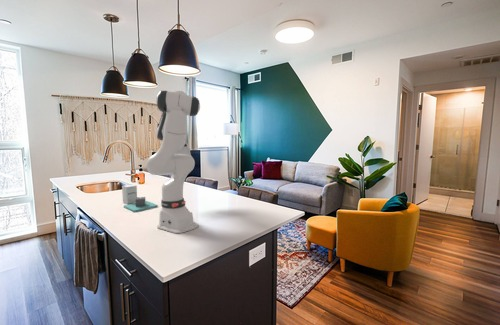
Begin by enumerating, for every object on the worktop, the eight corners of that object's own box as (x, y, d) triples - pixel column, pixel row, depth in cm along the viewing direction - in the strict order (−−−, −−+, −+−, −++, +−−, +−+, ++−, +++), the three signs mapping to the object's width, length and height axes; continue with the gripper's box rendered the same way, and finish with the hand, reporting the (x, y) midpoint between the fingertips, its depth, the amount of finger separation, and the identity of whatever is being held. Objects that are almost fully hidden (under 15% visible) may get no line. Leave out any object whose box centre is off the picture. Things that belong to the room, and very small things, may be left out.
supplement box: (127, 204, 166) (126, 187, 165) (122, 202, 171) (121, 185, 170) (137, 202, 172) (136, 185, 171) (132, 200, 177) (131, 184, 175)
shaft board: (157, 206, 162) (157, 200, 161) (134, 212, 150) (133, 205, 149) (146, 202, 172) (146, 196, 171) (123, 207, 160) (123, 201, 159)
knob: (144, 206, 159) (144, 198, 158) (135, 206, 157) (135, 199, 156) (145, 203, 164) (145, 196, 164) (136, 204, 162) (136, 197, 162)
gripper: (160, 144, 161) (161, 164, 163) (190, 144, 168) (191, 163, 170) (160, 144, 167) (161, 163, 169) (189, 144, 174) (190, 162, 175)
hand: (176, 163), depth 169 cm, fingers open, 8 cm apart
